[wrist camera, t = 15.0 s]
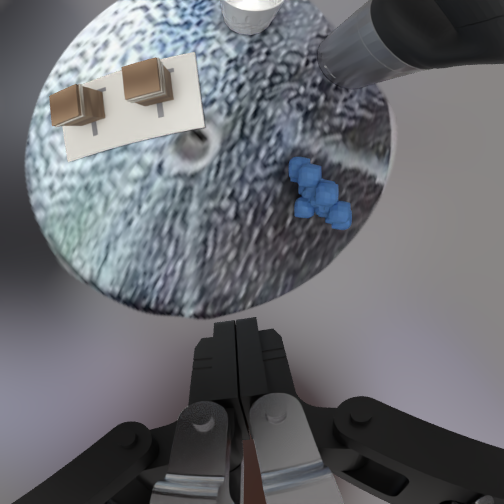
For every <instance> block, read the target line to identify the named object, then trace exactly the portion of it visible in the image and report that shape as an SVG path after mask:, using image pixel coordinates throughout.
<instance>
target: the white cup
mask: <svg viewBox="0 0 504 504" xmlns="http://www.w3.org/2000/svg"><path fill="white" fill-rule="evenodd" d="M284 1H285V0H220V5H221V9H222V13H223V16H224V21H225V23H226V24H227V26H228V27H229V28H230V29H231V30H233V31H235V32H237V33H239V34H245V35H253V34H257V33H261V32H262V31H263V30H265V29H266V28H268V27H269V25H270V23H271V21H272V20H273V19H274V17H275V16H276V14H277V13H278V11H279V9H280V8H281V6H282V4H283V2H284Z"/></svg>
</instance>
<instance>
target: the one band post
mask: <svg viewBox="0 0 504 504" xmlns="http://www.w3.org/2000/svg"><path fill="white" fill-rule="evenodd" d="M49 97H50V110H51V120H52V126H55V127H59V126H83V125H86V124H89V123H92V122H95V121H97V120H100V119H103V118H105V111H104V103H103V93H102V92H101V91H98V90H94V89H91V88H88V87H84V86H82V85H81V84H78V85H77V84H75V85H72V86H70V87H68V88H66V89H63V90H61V91H59V92H57V93H55V94H53V95H50V96H49Z"/></svg>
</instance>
